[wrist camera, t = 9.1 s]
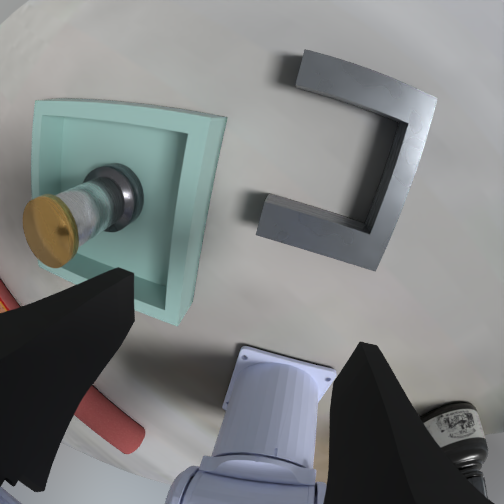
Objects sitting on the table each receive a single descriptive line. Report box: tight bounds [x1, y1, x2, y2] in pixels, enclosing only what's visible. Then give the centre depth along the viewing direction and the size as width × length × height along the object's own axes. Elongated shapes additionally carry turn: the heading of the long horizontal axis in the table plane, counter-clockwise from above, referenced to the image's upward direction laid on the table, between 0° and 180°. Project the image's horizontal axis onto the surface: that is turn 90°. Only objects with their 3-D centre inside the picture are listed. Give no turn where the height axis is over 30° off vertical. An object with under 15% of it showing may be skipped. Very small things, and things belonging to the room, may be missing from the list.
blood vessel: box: [0, 280, 145, 454], centre depth 28 cm, size 42×5×5 cm, turn 39°
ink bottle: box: [420, 403, 488, 499], centre depth 19 cm, size 10×9×12 cm
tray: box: [31, 98, 228, 326], centre depth 18 cm, size 13×13×3 cm
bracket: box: [256, 49, 437, 271], centre depth 15 cm, size 10×7×2 cm
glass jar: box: [23, 163, 144, 268], centre depth 16 cm, size 4×4×7 cm
